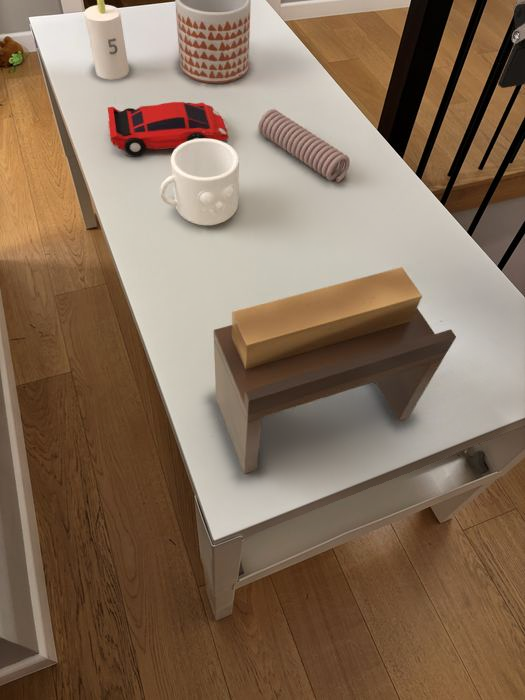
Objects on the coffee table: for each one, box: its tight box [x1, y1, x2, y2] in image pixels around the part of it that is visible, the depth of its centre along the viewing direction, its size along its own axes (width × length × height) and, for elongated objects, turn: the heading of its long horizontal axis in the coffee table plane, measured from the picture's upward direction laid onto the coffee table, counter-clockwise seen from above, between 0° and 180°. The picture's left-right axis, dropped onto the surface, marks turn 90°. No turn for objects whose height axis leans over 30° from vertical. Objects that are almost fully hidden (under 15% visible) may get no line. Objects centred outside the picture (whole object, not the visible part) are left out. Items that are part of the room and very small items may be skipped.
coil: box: [257, 108, 351, 183], centre depth 91 cm, size 5×5×18 cm
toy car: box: [107, 101, 229, 157], centre depth 92 cm, size 10×20×5 cm, turn 107°
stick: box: [231, 266, 423, 369], centre depth 52 cm, size 4×18×4 cm, turn 111°
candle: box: [83, 0, 130, 81], centre depth 99 cm, size 6×6×15 cm
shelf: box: [213, 307, 457, 475], centre depth 58 cm, size 10×21×16 cm, turn 111°
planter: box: [174, 0, 252, 84], centre depth 103 cm, size 14×14×13 cm
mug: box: [159, 138, 240, 226], centre depth 80 cm, size 12×10×9 cm
